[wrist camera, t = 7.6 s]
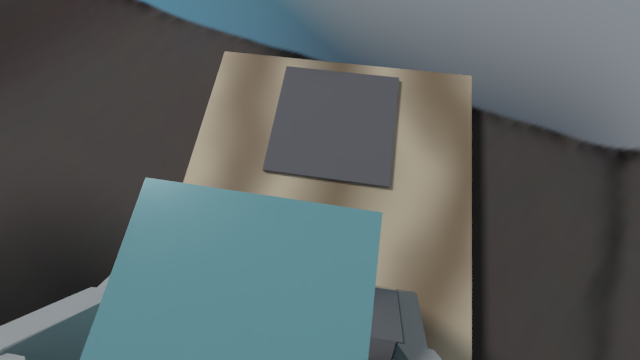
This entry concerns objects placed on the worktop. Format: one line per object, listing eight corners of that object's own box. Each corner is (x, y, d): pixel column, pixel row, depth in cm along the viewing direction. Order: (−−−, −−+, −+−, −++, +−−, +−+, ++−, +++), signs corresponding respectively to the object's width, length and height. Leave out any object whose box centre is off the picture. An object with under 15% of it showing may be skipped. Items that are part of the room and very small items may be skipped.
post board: (135, 379, 17) (25, 433, 11) (231, 65, 24) (196, -10, 18) (459, 447, 16) (541, 555, 9) (462, 88, 22) (511, 15, 16)
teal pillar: (223, 350, 12) (39, 469, 4) (250, 236, 13) (145, 177, 6) (338, 372, 12) (349, 543, 4) (352, 252, 13) (382, 212, 5)
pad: (263, 171, 19) (262, 169, 19) (287, 68, 22) (286, 66, 22) (388, 188, 19) (389, 186, 18) (398, 80, 21) (399, 77, 21)
